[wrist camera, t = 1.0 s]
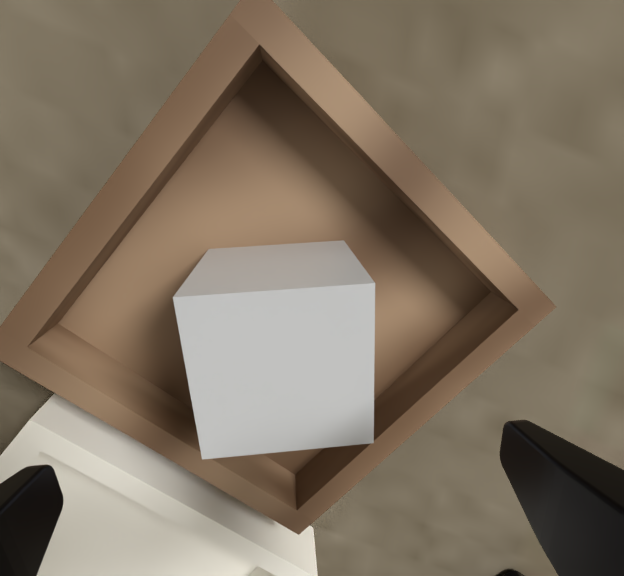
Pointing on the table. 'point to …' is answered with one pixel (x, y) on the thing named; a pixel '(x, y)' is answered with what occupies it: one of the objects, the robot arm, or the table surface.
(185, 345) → the stone block
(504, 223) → the table surface
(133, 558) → the cream tray
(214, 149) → the walnut tray
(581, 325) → the table surface
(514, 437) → the robot arm
